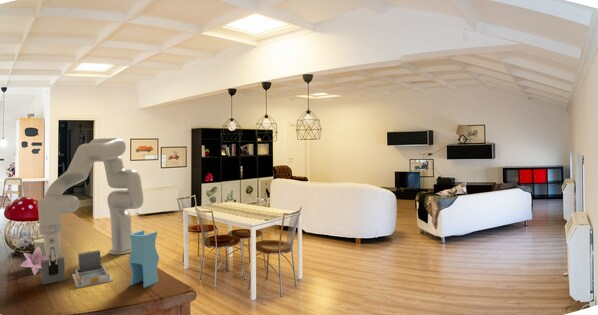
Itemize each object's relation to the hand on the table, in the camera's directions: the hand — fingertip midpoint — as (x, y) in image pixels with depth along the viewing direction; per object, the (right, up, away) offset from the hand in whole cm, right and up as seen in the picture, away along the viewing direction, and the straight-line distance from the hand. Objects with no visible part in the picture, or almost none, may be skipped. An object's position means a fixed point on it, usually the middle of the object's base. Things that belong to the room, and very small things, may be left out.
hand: (53, 272), depth 166 cm
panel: (0, -3, 0) cm, 3 cm away
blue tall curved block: (+39, -3, -4) cm, 39 cm away
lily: (-16, -4, +14) cm, 22 cm away
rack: (+14, -3, +3) cm, 15 cm away
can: (-18, -3, +25) cm, 31 cm away
